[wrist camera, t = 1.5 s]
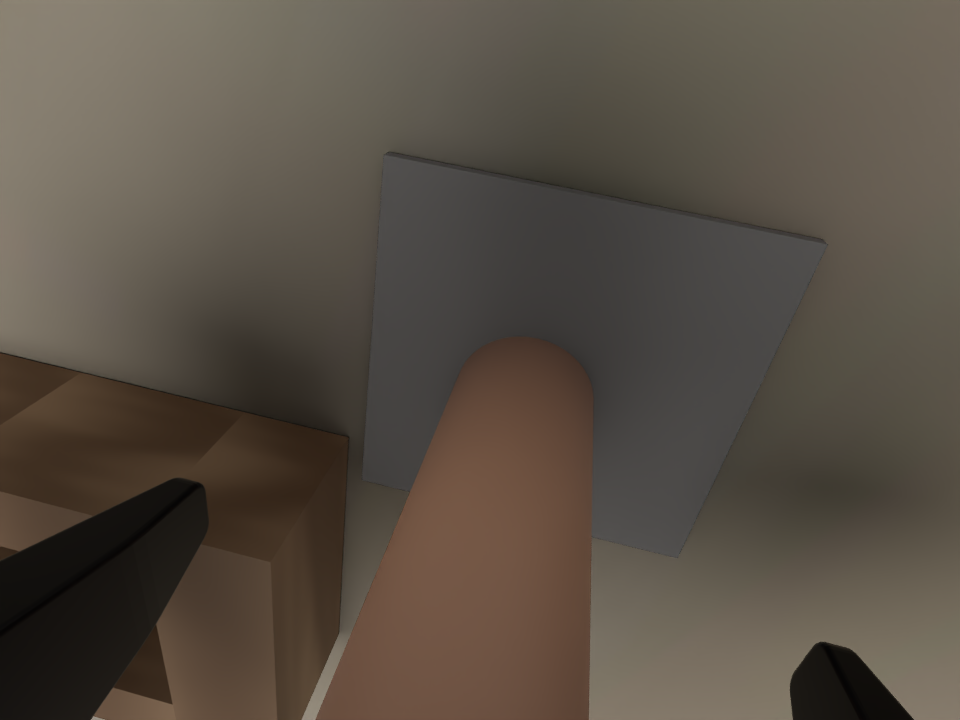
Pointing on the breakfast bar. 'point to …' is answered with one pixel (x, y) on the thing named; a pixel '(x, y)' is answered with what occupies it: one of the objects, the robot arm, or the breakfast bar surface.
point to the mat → (579, 326)
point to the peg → (486, 556)
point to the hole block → (224, 551)
